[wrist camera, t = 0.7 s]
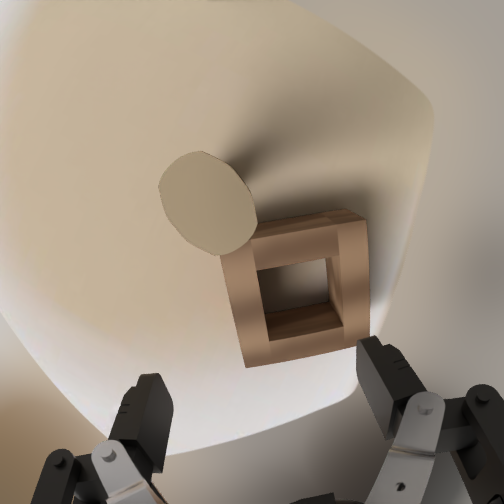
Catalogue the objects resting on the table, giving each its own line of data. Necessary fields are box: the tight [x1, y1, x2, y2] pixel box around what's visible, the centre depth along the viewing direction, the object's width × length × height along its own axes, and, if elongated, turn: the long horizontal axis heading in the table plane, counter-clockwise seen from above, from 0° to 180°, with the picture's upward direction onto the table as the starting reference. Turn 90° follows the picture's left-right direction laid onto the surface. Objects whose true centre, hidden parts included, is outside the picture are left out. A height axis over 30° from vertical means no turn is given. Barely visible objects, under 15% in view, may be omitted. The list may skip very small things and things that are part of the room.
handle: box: [158, 151, 258, 256], centre depth 25 cm, size 5×6×15 cm
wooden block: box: [220, 209, 370, 368], centre depth 33 cm, size 14×14×6 cm
